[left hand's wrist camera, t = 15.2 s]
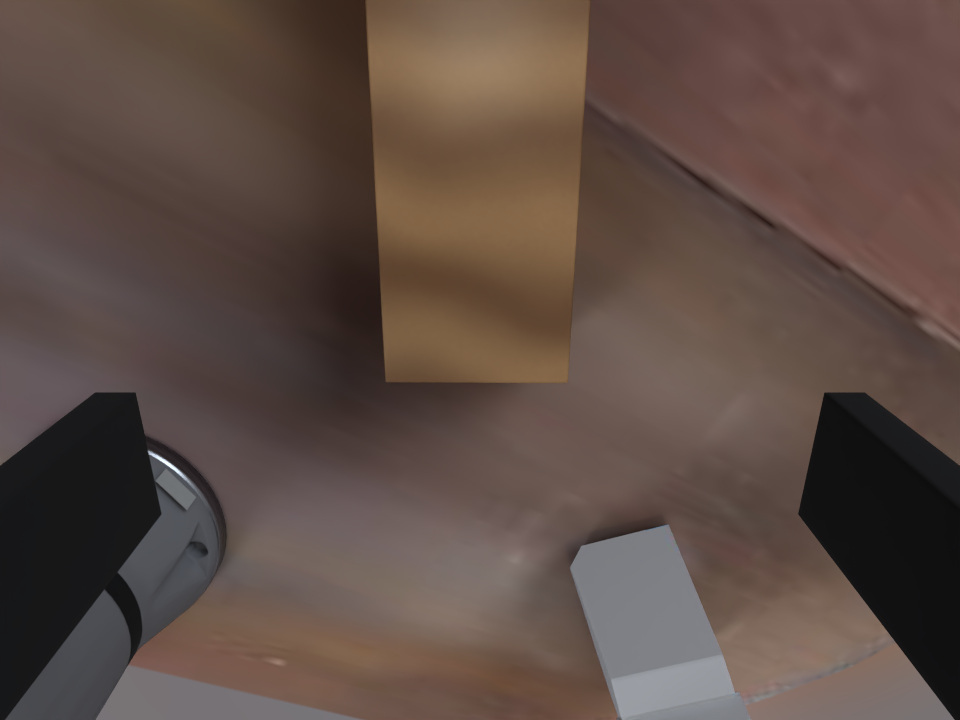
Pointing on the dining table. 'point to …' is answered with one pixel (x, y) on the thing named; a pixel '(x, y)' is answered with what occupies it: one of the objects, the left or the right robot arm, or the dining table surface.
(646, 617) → the electronic device
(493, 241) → the wide beam
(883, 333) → the dining table surface
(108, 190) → the dining table surface
